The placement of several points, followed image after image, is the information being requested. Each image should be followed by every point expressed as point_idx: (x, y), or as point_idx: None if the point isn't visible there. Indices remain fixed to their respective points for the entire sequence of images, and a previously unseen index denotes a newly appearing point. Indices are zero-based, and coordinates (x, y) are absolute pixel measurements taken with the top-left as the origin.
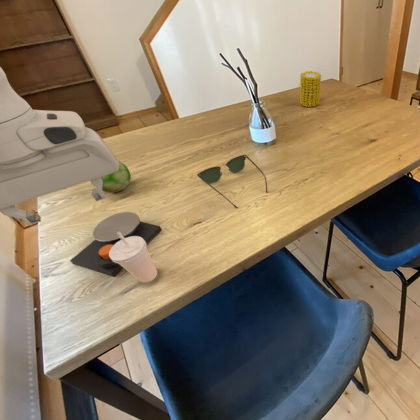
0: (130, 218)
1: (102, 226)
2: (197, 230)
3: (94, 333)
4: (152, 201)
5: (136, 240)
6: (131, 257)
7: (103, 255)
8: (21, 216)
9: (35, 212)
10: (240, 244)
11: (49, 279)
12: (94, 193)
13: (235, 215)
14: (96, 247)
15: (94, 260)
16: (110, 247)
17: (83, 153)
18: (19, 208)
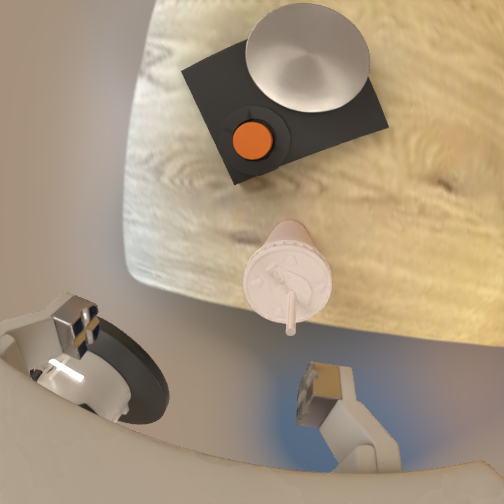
0: (350, 57)
1: (278, 28)
2: (430, 206)
3: (175, 277)
4: (412, 10)
5: (317, 281)
6: (279, 321)
7: (239, 154)
8: (50, 355)
9: (80, 324)
10: (437, 310)
11: (142, 86)
12: (309, 424)
13: (492, 238)
14: (239, 70)
15: (220, 112)
16: (262, 141)
17: None
18: (31, 322)
